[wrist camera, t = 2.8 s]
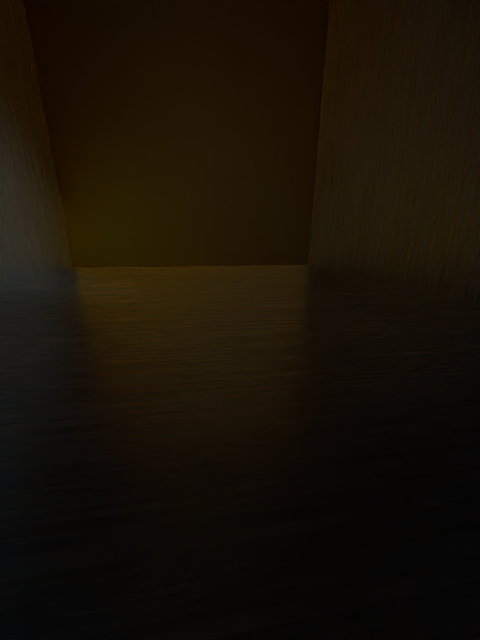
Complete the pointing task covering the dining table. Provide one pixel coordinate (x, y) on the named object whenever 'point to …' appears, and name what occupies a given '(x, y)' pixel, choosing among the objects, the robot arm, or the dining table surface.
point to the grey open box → (257, 378)
